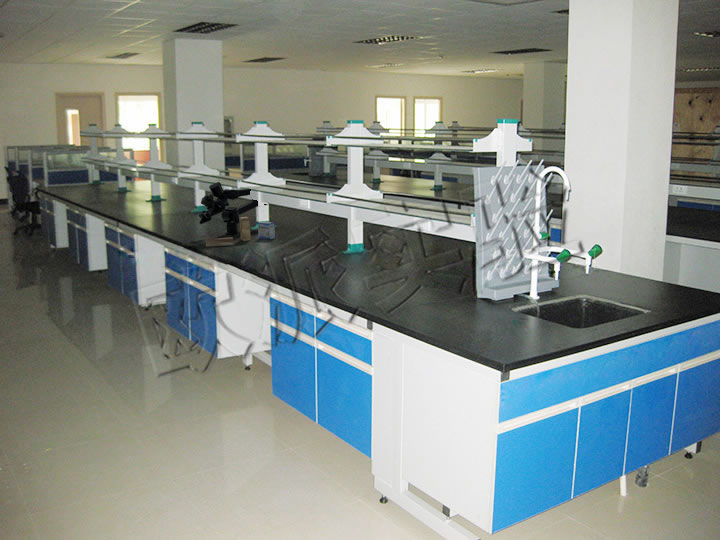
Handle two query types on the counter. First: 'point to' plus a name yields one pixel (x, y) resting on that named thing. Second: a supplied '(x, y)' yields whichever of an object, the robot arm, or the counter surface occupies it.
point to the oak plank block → (245, 228)
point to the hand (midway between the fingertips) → (204, 220)
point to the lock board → (218, 241)
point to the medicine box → (266, 230)
